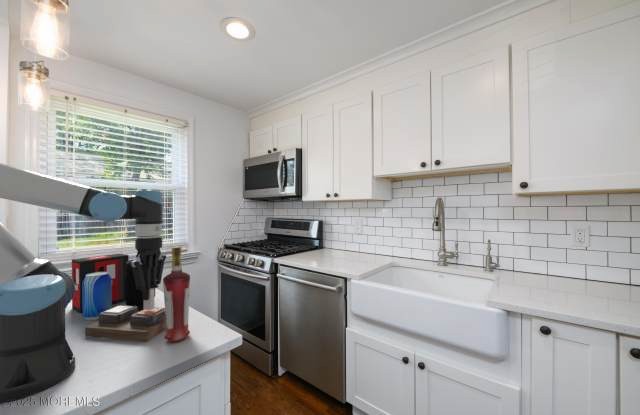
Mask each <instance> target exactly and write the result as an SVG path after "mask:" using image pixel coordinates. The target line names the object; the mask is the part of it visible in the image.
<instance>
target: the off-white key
mask: <svg viewBox="0 0 640 415" xmlns="http://www.w3.org/2000/svg"><path fill="white" fill-rule="evenodd" d="M116 306H117V307H116ZM116 306H114V307H115V308H114V307H112V309H110V310H107V311H105V312H104V313H110V314H120V313H122V312H124V311H127V310H129V309H131V308H133V306H126V305H125V306H120V305H116Z"/></svg>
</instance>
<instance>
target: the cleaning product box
mask: <svg viewBox="0 0 640 415" xmlns="http://www.w3.org/2000/svg"><path fill="white" fill-rule="evenodd" d="M129 258H130V257H129V254H124V253H114V254H113V253H112V254H105V255H98V256H96V255H95V256H91V257H82V258H75V259H71V278H72V279H73V281H74V284H75V293H74V296H73V298H72V300H71V304H72V305H71V306H72V307H71V309H72V310H73V311H75V312H77V313H79V314H83V311H82V282H83V280H84V279H85V277H86V275H87V274H90V273H96V272H108V274H109V275H110V277H111V278H112V306H113V305H117V304H120V303H125V270H126V264H127V261H129V260H130V259H129Z"/></svg>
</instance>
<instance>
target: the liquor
mask: <svg viewBox="0 0 640 415" xmlns="http://www.w3.org/2000/svg"><path fill="white" fill-rule="evenodd" d="M171 256H172V259H171V260H172V261H171V272H170V273H168V274H167V275H166V276H164V277H163V279H162V284H163V298H164V300H163V302H164V308H165V316H166V330H165V333H166V334H165V335H164V339H165V340H166V341H168V342H169V343H179V342H182V341H184V340H186V338H187V337H188V336H189V335H190V329H189V311H190V308H189V307H190V292H191V291H190V289H191V275H190V274H189V273H187V272H184V271H183V265H182V259H181V258H182V257H181V256H182V246H173V247H171Z"/></svg>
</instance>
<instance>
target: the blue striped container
mask: <svg viewBox="0 0 640 415" xmlns="http://www.w3.org/2000/svg"><path fill="white" fill-rule="evenodd" d="M112 306H113V305H112V278H111V277H110V275H109V274H108V272H96V273H90V274H87V275H86V277H85V279H84V280H83V282H82V311H83V313H82V318H84V320H86V321H97V320H99V316H98V314H100V313H101V312H104V311H106V310H109V309H111V308H113V307H112Z"/></svg>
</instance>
